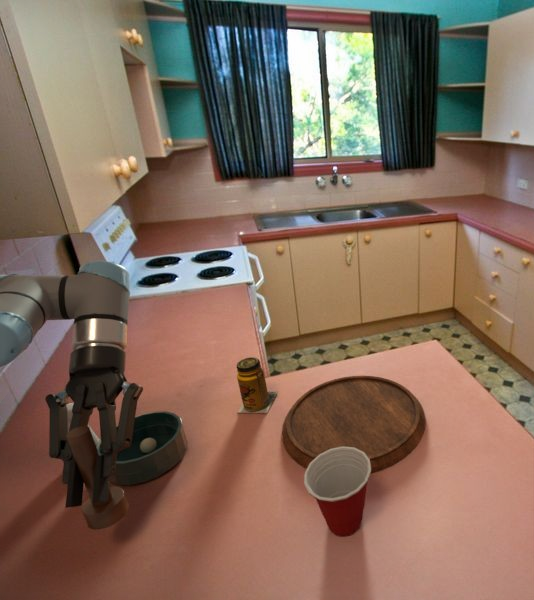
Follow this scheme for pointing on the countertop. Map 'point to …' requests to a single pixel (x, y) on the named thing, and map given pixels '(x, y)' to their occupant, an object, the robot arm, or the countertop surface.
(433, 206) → the countertop surface
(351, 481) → the plastic cup
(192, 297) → the countertop surface
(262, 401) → the condiment
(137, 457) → the bowl
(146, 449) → the cream ball
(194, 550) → the countertop surface
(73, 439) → the wooden masher
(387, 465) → the cutting board
